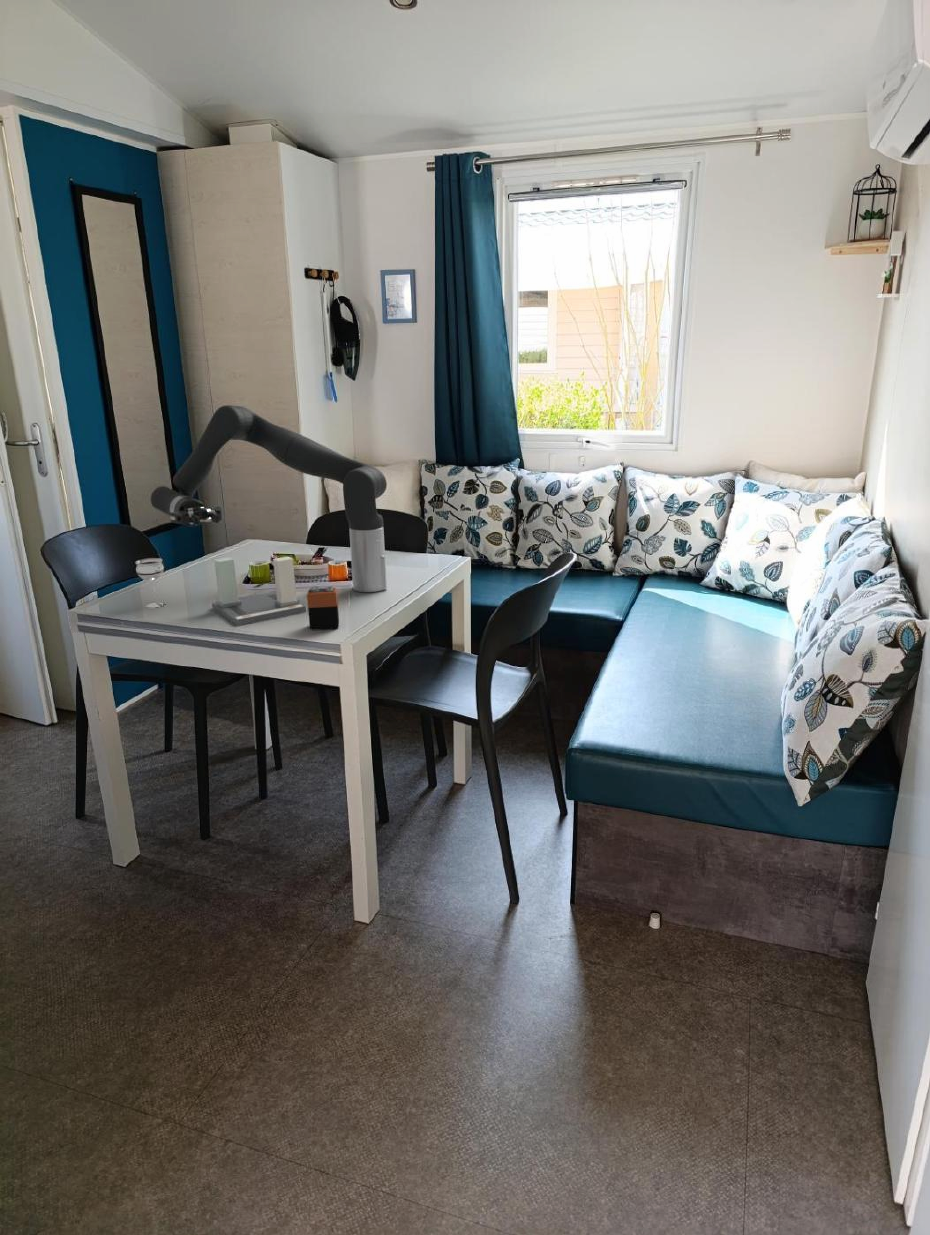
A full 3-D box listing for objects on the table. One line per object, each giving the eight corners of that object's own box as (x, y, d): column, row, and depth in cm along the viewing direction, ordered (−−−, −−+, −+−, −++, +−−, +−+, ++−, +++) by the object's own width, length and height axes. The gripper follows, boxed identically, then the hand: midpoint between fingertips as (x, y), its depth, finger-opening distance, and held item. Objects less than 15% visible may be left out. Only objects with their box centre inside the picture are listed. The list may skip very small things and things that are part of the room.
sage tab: (216, 604, 210) (211, 559, 206) (235, 600, 213) (230, 556, 209) (222, 607, 207) (216, 562, 203) (241, 604, 210) (236, 559, 206)
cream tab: (274, 603, 210) (270, 558, 206) (293, 600, 212) (289, 555, 209) (281, 607, 206) (276, 562, 203) (299, 603, 209) (295, 558, 205)
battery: (310, 624, 198) (307, 585, 195) (339, 623, 199) (336, 583, 196) (309, 630, 194) (306, 590, 191) (338, 629, 195) (335, 588, 191)
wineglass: (174, 603, 217) (168, 559, 213) (153, 610, 211) (146, 565, 207) (157, 600, 220) (150, 556, 216) (135, 607, 214) (129, 562, 211)
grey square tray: (212, 608, 212) (211, 602, 212) (277, 595, 222) (277, 590, 221) (237, 625, 198) (236, 619, 198) (305, 611, 208) (305, 605, 207)
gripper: (159, 499, 219) (178, 509, 206) (211, 493, 227) (233, 502, 213) (162, 527, 221) (182, 538, 208) (214, 520, 229) (236, 530, 216)
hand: (207, 520), depth 211 cm, fingers open, 4 cm apart
